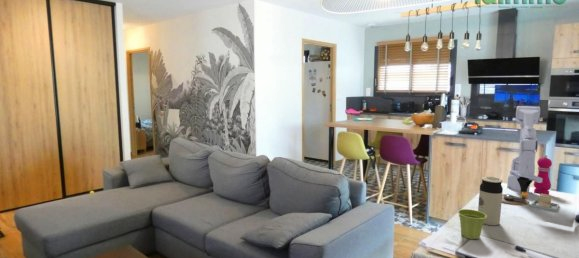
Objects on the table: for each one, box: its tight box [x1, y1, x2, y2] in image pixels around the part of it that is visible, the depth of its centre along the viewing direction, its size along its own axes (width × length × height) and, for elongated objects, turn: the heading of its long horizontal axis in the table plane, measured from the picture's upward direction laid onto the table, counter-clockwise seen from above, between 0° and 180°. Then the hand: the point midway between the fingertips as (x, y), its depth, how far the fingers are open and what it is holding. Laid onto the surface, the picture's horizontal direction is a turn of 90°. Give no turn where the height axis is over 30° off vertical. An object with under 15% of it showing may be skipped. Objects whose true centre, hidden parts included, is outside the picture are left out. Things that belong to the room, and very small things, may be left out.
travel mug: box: [477, 176, 504, 226], centre depth 145 cm, size 8×8×18 cm
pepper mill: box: [533, 154, 553, 195], centre depth 182 cm, size 7×7×20 cm
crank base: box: [501, 193, 530, 207], centre depth 170 cm, size 16×16×2 cm
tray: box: [530, 199, 560, 213], centre depth 160 cm, size 9×9×2 cm
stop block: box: [538, 194, 552, 208], centre depth 160 cm, size 4×4×6 cm
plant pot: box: [457, 208, 487, 240], centre depth 133 cm, size 9×9×9 cm
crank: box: [504, 191, 529, 201], centre depth 168 cm, size 9×4×4 cm, turn 57°
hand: (523, 193), depth 168 cm, fingers closed, pressing on crank
